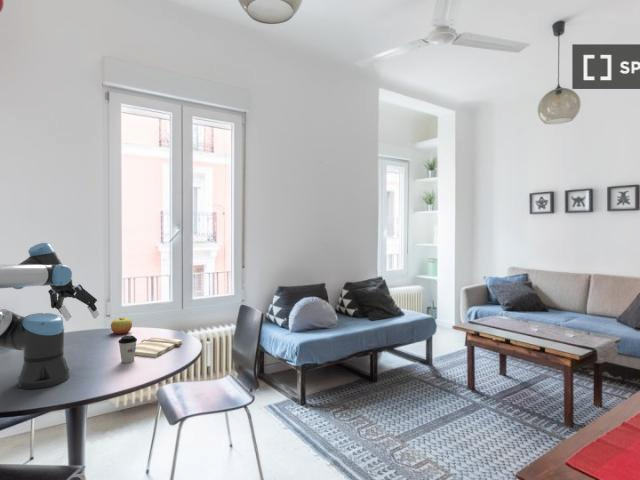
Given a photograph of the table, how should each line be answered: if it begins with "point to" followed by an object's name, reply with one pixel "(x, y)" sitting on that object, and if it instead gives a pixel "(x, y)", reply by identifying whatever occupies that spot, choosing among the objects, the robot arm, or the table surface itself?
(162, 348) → the subfloor panel
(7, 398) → the table surface
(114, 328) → the apple
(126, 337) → the coffee cup
